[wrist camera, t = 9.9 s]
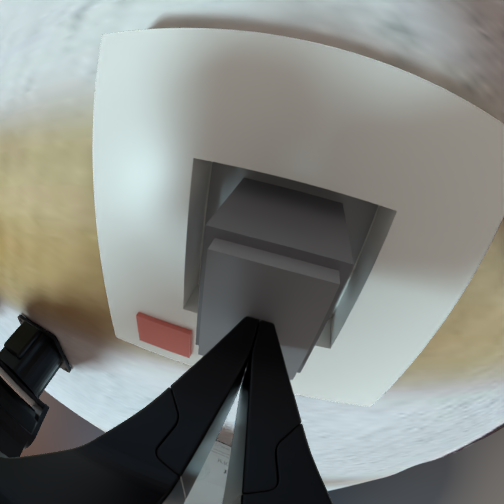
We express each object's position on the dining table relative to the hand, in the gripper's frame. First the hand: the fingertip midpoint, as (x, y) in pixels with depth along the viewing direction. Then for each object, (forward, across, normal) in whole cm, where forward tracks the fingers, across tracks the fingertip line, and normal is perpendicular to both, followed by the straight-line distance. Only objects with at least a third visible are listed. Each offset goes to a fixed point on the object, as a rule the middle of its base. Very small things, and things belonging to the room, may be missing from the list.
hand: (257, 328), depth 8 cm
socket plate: (+6, 0, 0) cm, 6 cm away
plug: (+5, 0, 0) cm, 5 cm away
